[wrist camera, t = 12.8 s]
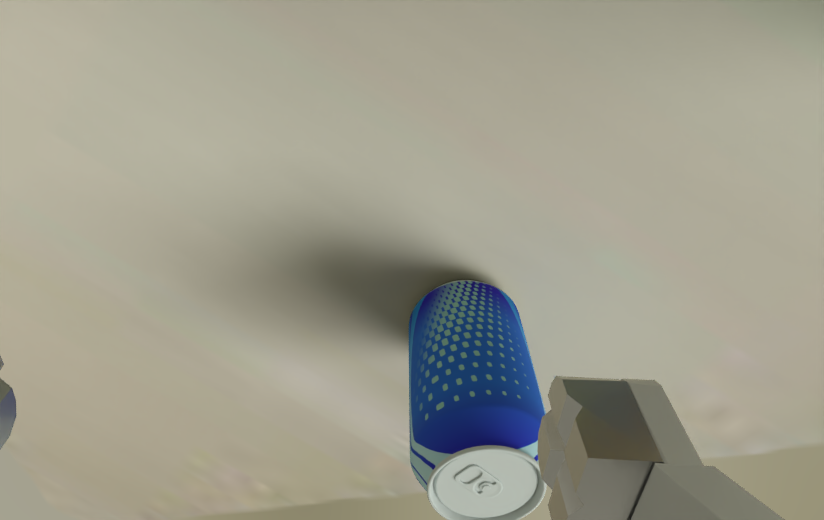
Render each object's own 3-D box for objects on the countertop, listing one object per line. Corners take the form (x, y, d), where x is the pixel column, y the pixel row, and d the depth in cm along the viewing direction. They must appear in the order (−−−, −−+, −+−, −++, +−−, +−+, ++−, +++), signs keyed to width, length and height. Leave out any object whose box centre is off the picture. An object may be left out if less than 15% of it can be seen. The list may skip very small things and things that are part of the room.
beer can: (516, 265, 45) (565, 430, 31) (518, 353, 49) (562, 532, 35) (402, 276, 45) (401, 443, 31) (414, 363, 49) (418, 543, 36)
